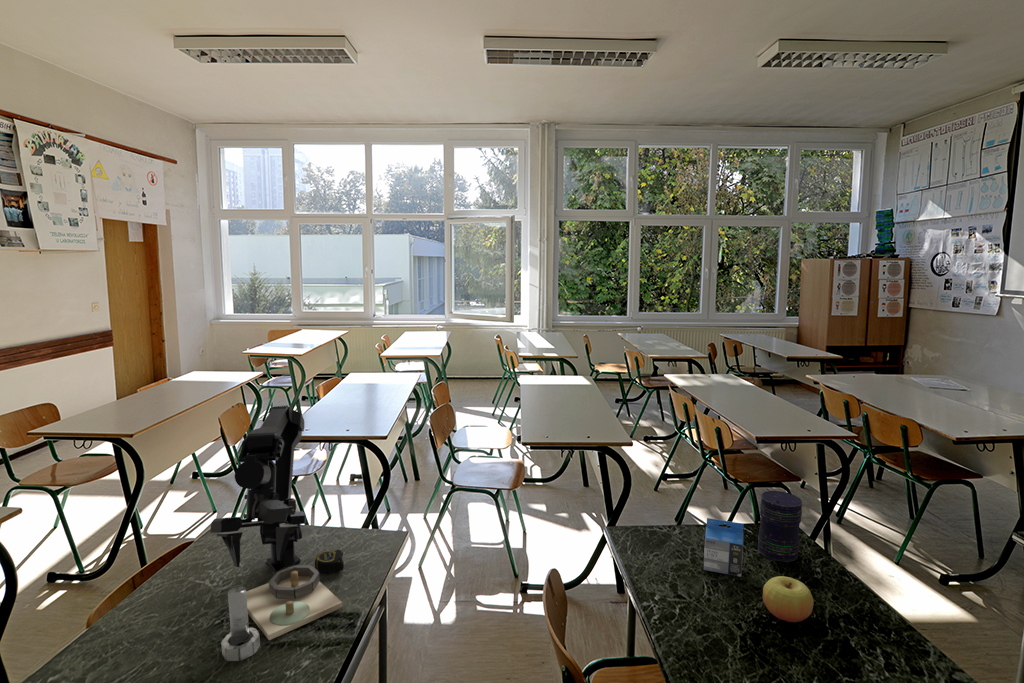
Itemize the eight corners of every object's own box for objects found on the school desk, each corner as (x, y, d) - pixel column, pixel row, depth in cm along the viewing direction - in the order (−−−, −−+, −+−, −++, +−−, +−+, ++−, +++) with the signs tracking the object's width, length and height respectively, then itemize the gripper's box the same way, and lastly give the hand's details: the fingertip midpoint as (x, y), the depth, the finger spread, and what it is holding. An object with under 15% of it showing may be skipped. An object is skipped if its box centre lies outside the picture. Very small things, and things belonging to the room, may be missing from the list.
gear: (218, 649, 111) (214, 591, 110) (252, 634, 116) (248, 578, 114) (229, 665, 107) (224, 605, 105) (263, 650, 111) (259, 591, 109)
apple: (791, 634, 116) (794, 599, 115) (751, 609, 124) (754, 575, 123) (821, 620, 120) (824, 586, 119) (781, 596, 129) (783, 564, 128)
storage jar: (765, 538, 156) (769, 487, 153) (803, 551, 149) (808, 498, 147) (751, 552, 148) (755, 498, 146) (790, 566, 142) (795, 510, 140)
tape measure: (344, 574, 138) (343, 560, 138) (314, 579, 136) (314, 565, 135) (343, 560, 145) (343, 547, 144) (315, 565, 142) (314, 551, 142)
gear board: (237, 599, 128) (236, 581, 127) (306, 572, 139) (305, 555, 138) (268, 640, 114) (267, 620, 113) (342, 607, 125) (341, 588, 124)
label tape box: (703, 570, 140) (705, 523, 138) (704, 562, 143) (706, 517, 142) (741, 578, 136) (744, 530, 135) (741, 569, 140) (744, 523, 138)
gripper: (235, 489, 113) (231, 572, 109) (319, 484, 127) (318, 558, 123) (211, 492, 120) (207, 570, 116) (293, 487, 134) (292, 556, 130)
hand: (258, 563), depth 121 cm, fingers open, 9 cm apart
